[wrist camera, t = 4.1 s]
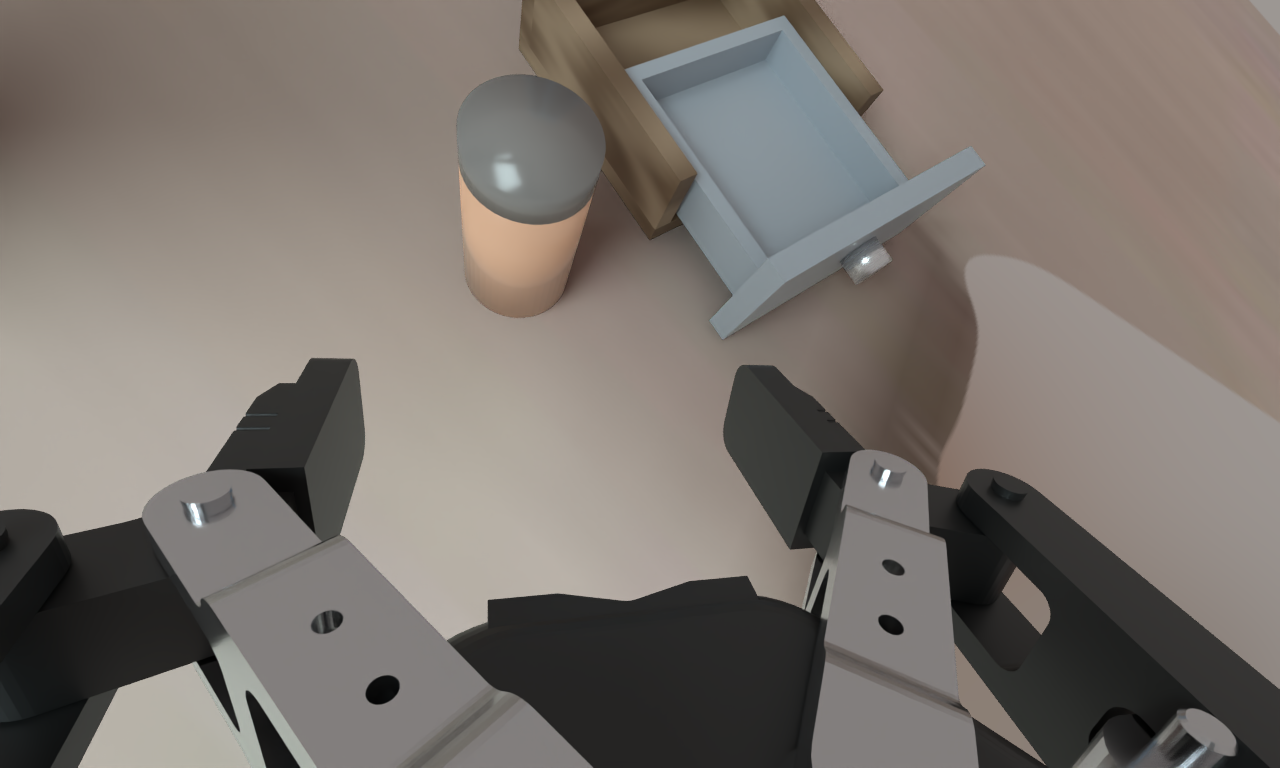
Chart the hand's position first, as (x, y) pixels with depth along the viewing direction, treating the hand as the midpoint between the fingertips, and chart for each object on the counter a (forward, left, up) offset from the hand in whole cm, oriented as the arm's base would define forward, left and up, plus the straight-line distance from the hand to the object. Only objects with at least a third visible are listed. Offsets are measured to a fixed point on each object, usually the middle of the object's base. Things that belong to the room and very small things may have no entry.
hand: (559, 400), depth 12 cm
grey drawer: (+19, +7, -13) cm, 24 cm away
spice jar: (+5, +9, -13) cm, 17 cm away
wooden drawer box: (+19, +14, -13) cm, 27 cm away
